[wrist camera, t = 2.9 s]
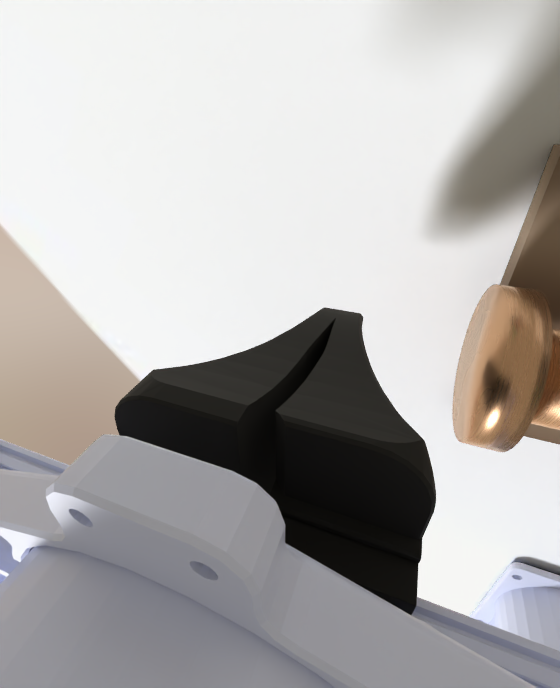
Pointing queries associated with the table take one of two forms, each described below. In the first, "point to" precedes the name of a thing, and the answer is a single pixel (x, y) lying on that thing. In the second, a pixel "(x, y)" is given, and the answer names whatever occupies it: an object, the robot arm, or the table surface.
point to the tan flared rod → (507, 370)
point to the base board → (541, 257)
